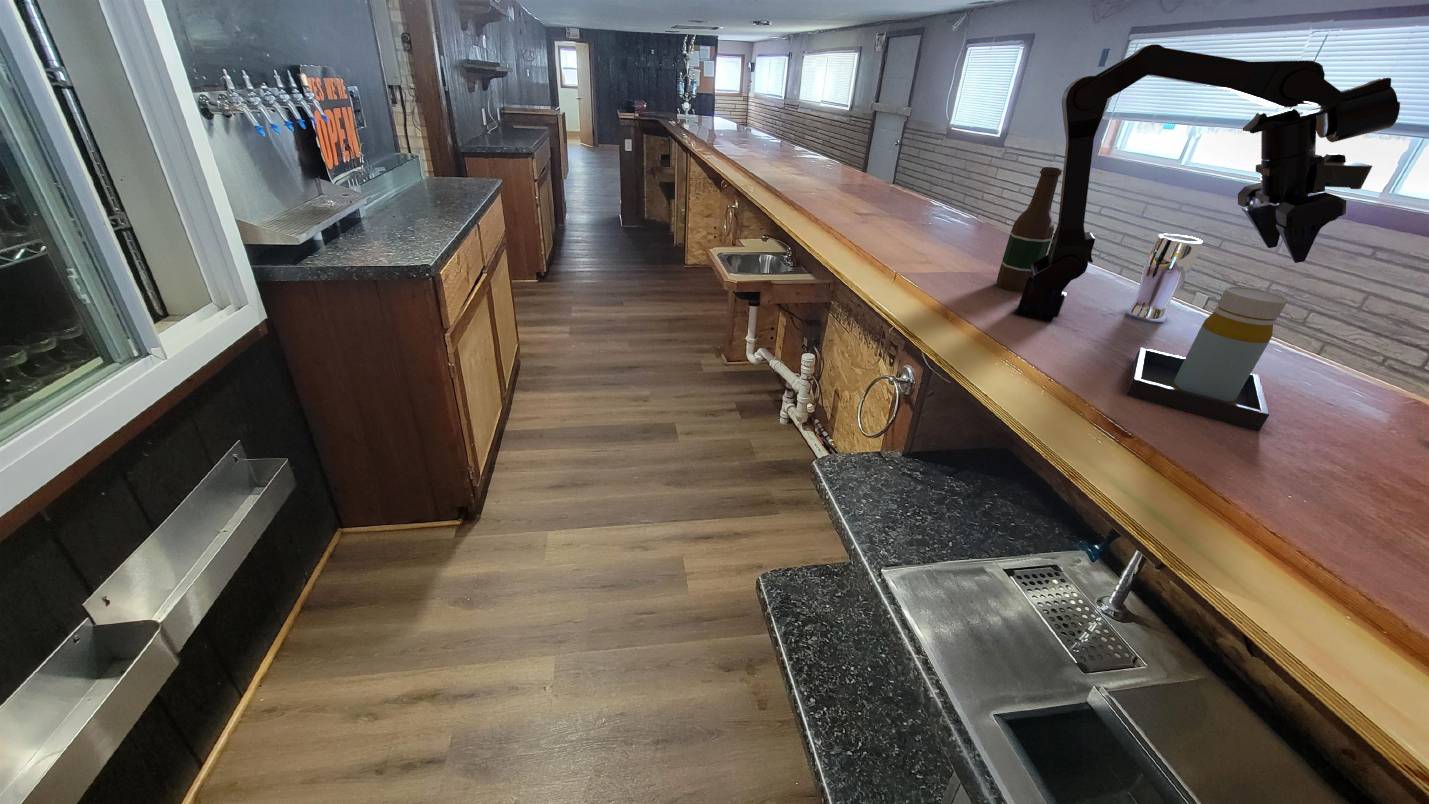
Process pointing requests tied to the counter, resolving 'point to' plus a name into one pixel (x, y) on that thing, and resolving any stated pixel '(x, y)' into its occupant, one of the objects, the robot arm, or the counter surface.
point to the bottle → (1230, 343)
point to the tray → (1155, 385)
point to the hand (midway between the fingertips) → (1285, 254)
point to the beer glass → (1164, 275)
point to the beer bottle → (1030, 234)
